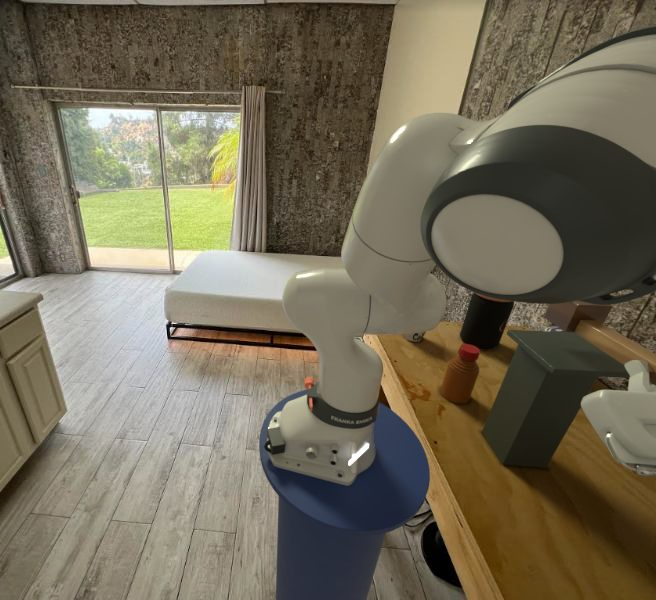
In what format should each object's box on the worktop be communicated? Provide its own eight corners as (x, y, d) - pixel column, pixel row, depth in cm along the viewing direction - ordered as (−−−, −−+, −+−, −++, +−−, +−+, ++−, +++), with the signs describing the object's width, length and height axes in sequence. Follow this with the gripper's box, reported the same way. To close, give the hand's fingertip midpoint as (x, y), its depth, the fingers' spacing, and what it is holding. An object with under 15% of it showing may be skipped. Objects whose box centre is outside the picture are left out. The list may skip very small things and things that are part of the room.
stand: (500, 477, 61) (554, 369, 49) (469, 428, 71) (507, 329, 60) (568, 483, 60) (639, 373, 48) (526, 432, 70) (576, 332, 59)
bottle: (446, 403, 78) (461, 357, 73) (436, 385, 84) (449, 342, 78) (474, 404, 78) (491, 359, 72) (461, 387, 84) (476, 343, 78)
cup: (412, 346, 101) (419, 319, 96) (394, 334, 108) (399, 308, 103) (431, 341, 103) (439, 314, 99) (412, 329, 110) (418, 303, 106)
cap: (472, 351, 77) (474, 344, 76) (480, 361, 74) (483, 353, 73) (454, 350, 78) (457, 343, 77) (462, 360, 74) (465, 352, 73)
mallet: (656, 393, 39) (679, 360, 37) (543, 317, 56) (554, 291, 54) (702, 396, 38) (728, 362, 36) (574, 318, 56) (586, 292, 54)
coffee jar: (499, 355, 96) (520, 302, 88) (458, 345, 101) (474, 294, 93) (496, 338, 104) (514, 288, 96) (458, 330, 109) (473, 282, 101)
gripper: (599, 477, 38) (548, 367, 45) (799, 493, 36) (710, 375, 43) (650, 470, 32) (583, 348, 40) (888, 489, 30) (769, 356, 38)
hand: (651, 362), depth 42 cm, fingers closed on mallet, 2 cm apart
